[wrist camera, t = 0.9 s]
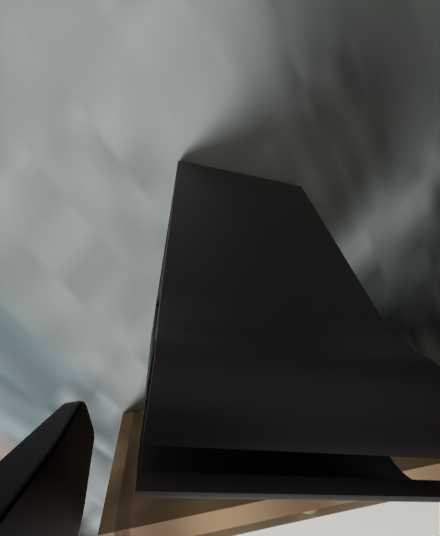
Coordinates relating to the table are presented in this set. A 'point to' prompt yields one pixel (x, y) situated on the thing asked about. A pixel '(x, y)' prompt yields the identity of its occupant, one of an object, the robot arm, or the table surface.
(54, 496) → the robot arm
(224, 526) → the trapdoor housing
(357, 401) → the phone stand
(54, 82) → the table surface
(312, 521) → the trapdoor
